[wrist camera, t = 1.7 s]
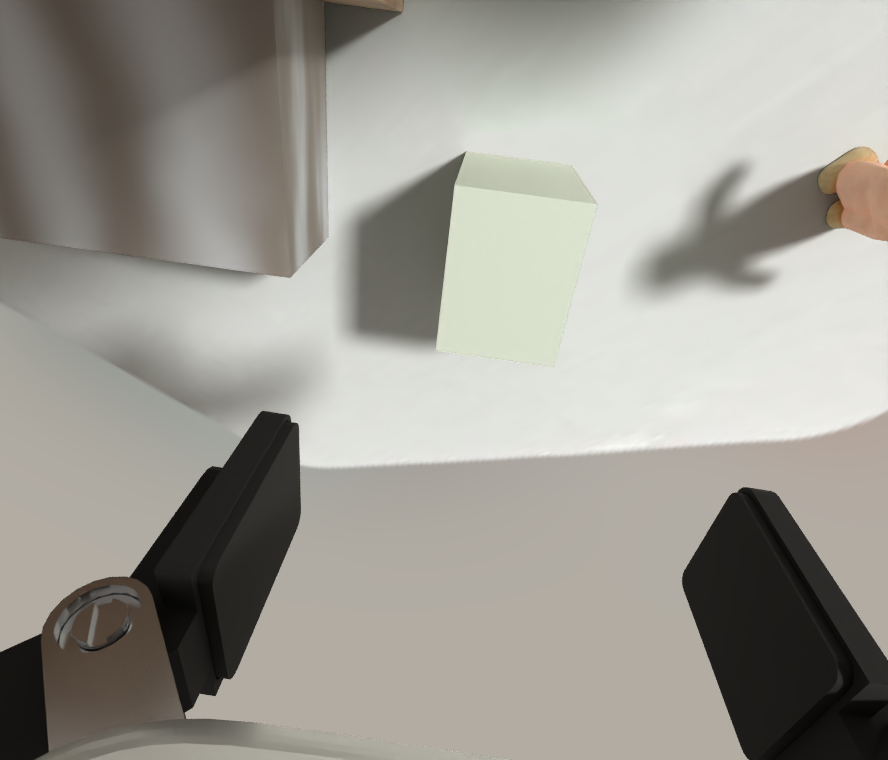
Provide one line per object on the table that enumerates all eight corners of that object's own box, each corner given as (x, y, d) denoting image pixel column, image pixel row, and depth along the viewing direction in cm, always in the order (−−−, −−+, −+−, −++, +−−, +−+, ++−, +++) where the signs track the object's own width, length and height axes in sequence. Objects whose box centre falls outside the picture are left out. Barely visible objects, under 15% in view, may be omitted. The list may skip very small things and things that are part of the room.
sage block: (571, 165, 29) (597, 204, 21) (538, 310, 33) (549, 384, 26) (466, 151, 29) (454, 185, 21) (448, 297, 34) (433, 367, 26)
